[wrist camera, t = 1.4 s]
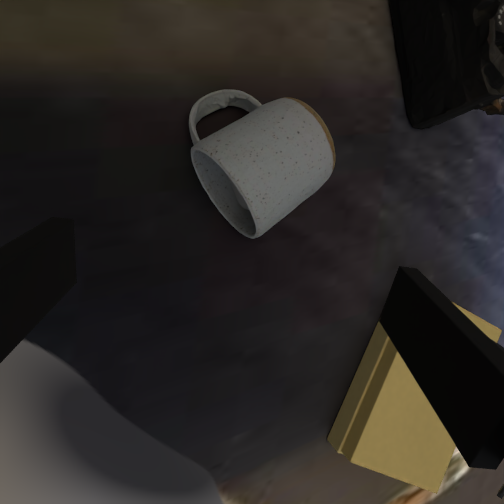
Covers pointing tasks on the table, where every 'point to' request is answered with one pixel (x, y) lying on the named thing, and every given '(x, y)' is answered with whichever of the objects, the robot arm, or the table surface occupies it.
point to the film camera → (449, 57)
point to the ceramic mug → (261, 158)
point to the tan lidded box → (394, 417)
